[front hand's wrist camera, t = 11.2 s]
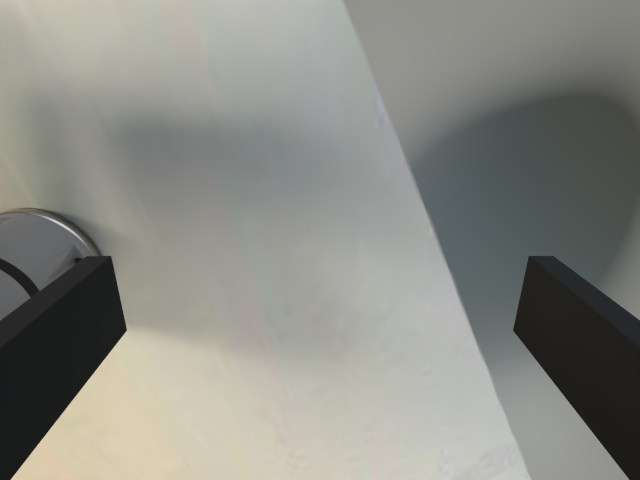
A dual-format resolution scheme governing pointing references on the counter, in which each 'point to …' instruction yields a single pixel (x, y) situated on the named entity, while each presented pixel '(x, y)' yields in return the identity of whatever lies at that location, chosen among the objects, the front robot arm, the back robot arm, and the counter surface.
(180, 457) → the counter surface
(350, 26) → the counter surface
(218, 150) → the counter surface
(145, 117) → the counter surface
